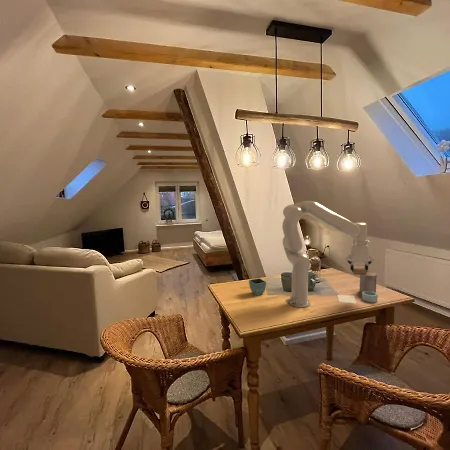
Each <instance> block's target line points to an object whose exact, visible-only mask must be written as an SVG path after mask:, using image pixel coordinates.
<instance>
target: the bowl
mask: <svg viewBox="0 0 450 450" xmlns="http://www.w3.org/2000/svg"><path fill="white" fill-rule="evenodd" d="M378 296H379V295H378V292H376V293H375V292H373V291H363V292H362V293H361V299H362V301H365V302H368V303H376V301H377V302H378V298H379V297H378Z"/></svg>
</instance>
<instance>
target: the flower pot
mask: <svg viewBox="0 0 450 450" xmlns="http://www.w3.org/2000/svg"><path fill="white" fill-rule="evenodd" d="M248 285H249V288H250V291H251V293H252V294H253V295H255V296H260V295H263V294H264V293H265V291H266V287H267V281H266V280H264V279H262V278H261V277H259V278H253V279H249V280H248Z"/></svg>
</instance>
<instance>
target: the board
mask: <svg viewBox="0 0 450 450" xmlns="http://www.w3.org/2000/svg"><path fill="white" fill-rule="evenodd" d="M353 266H354V265H353ZM367 271H368V270H366V269H365V266H354V269H353V272H352V274H353V275H356V276H357V275H358V276H360V275H366V272H367Z"/></svg>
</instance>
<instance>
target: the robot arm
mask: <svg viewBox="0 0 450 450" xmlns="http://www.w3.org/2000/svg"><path fill="white" fill-rule="evenodd" d="M282 213H283V217H284V218H283V221H282V231H283V235H284V237H283V238H282V246H283V251H284V252H285V254H286V258H287V260H288V262H289V264H291V265H292V271H291V295H290V298H288V299H285V303H286V304H288V303H289V305H291V306H292V307H297V308H307V307H309V306H310V305H311V301H310V300H309V296H308V295H309V294H308V293H309V291H308V289H309V271H310V264H311V263H310V258H309V257H308V256H307V254H306V253H304V252H302V249H303V246H304V245H303V241H302V238H301V236H300V232H299V228H298V223H299V221H300V220H301V219H302V217H303V216H306V215H307V216H310V217H312V218H313V219H315V220H317V221H319V222H321V223H322V224H323V225H326V226H328V227H331V228H334V229H336V230H338V231H339V233H340V234H341V235H344V236H348V237H350V238H352V244H351V246H350V254H348V256H346V257H344V259H345V261H346V262H347V263H348V264H349V265H350V271H351V272H352V273H353V269H354V264H355V263H356V262H358V263H359V262H360V263H361V262H363V263H365V264H364V267H365V269H366V270H367V271H369V266H370V265H371V264H372V263H373V262H374V260H375V258H373V257H372V256H371V255H370V252H369V251H370V250H369V246H368V244H370V241H369V240H368V224H367V223H366V222H352V221H351V220H349V219H347V218H345V217H343V216H341V215H339V214H337V212H334V211H332V210H331V209H329V208H327V207H325V206H324V205H322V204H320V203H319V202H317V201H313V200H305V201H300V202H297V203H296V202H295V203H293V204H289V205H288V204H287V206H284V208H283V211H282Z"/></svg>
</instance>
